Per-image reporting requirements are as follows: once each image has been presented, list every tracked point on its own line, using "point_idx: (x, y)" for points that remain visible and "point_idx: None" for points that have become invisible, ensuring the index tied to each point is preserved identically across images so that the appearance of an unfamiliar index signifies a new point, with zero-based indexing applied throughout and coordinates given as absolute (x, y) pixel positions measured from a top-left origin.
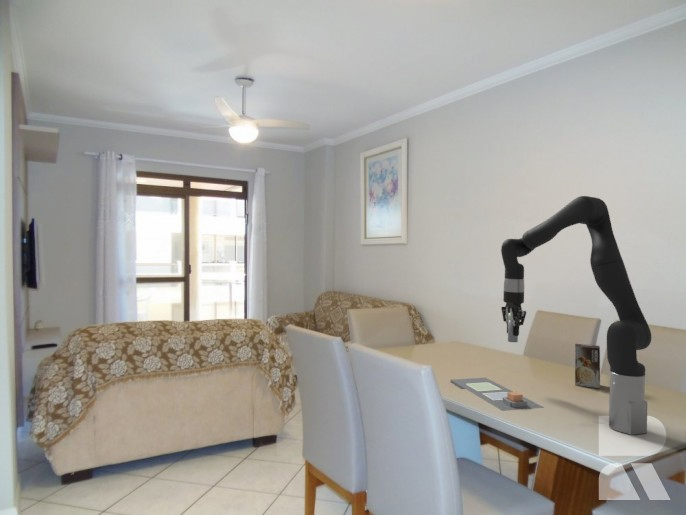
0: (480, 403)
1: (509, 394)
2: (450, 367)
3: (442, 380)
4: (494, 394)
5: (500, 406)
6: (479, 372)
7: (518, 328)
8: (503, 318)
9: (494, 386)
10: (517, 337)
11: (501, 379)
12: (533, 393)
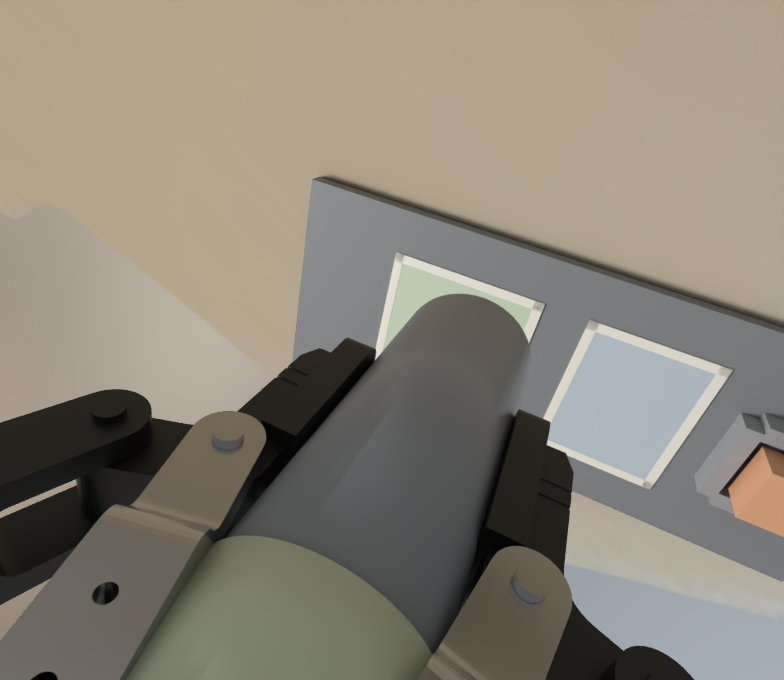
0: (605, 514)
1: (759, 523)
2: (81, 159)
3: (266, 369)
4: (583, 410)
5: (735, 540)
6: (181, 75)
7: (561, 558)
8: (73, 520)
9: (475, 289)
10: (515, 372)
11: (340, 61)
12: (691, 126)
